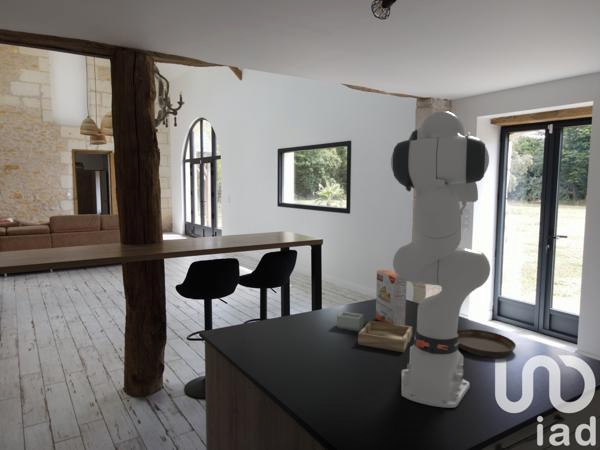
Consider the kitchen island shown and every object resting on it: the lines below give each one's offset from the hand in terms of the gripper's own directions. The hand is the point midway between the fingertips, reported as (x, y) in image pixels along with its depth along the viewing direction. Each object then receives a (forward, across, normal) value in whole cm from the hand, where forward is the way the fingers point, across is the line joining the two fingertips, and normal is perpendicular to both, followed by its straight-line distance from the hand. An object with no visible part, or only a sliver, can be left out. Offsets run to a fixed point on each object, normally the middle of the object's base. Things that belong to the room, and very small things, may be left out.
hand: (445, 214), depth 146 cm
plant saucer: (+47, +14, +2) cm, 49 cm away
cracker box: (+46, -20, +15) cm, 53 cm away
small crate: (+46, -34, +4) cm, 57 cm away
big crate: (+46, -18, -5) cm, 50 cm away
